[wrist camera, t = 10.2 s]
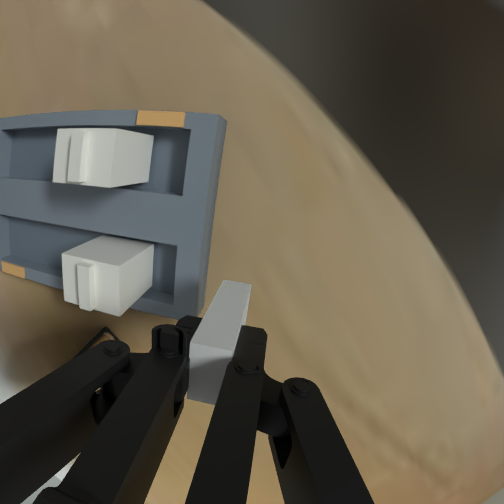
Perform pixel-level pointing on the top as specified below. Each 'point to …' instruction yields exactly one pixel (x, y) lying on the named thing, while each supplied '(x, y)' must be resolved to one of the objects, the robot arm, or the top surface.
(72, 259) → the tab
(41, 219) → the switch bank
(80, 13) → the top surface
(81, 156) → the tab
